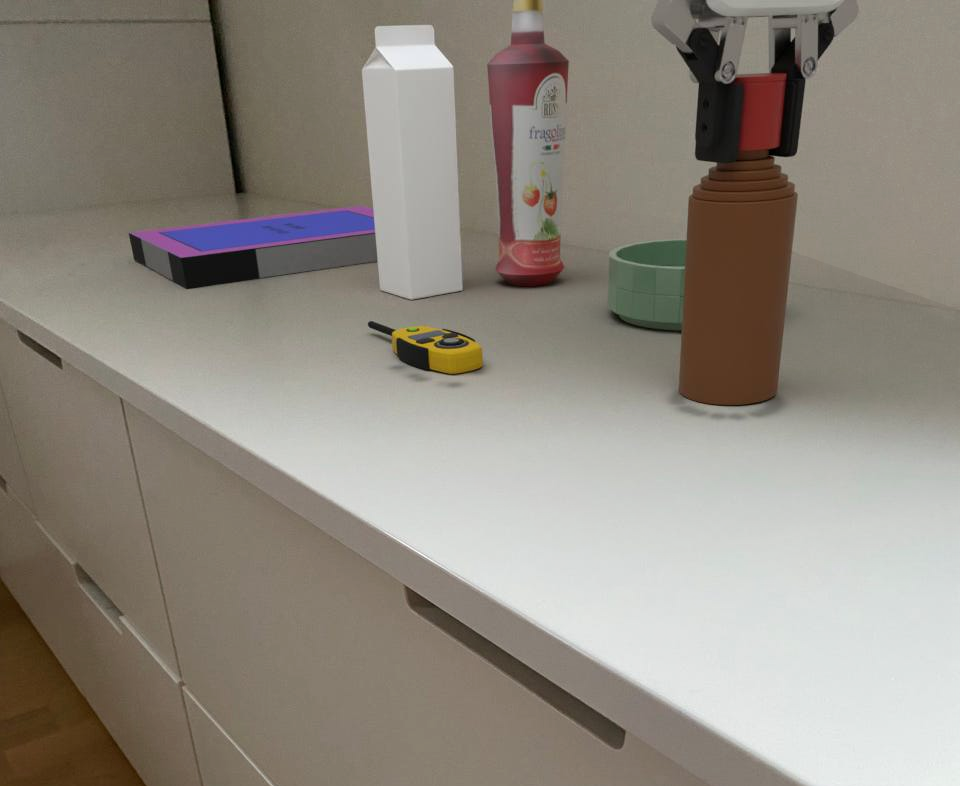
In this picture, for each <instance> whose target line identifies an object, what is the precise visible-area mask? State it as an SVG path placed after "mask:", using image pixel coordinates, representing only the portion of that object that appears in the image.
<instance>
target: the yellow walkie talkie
mask: <svg viewBox="0 0 960 786" xmlns="http://www.w3.org/2000/svg"><path fill="white" fill-rule="evenodd" d="M367 326H368V328H369V329H372V330H374V331H378V332H379V333H382V334H385V335H388V336H390V337H391V344H392V350H393V351H392V352H394V353H395V354H396V355H397V358H398V359H399V360H400V361H402V362H404V363H405V364H408V365H410V366H413V367H416V368H418V369H422V370H426V371H430V370H432V371H435V372H440V373H444V374H449V375H450V374H451V375H456V374H462V373H468V372H472V371H475V370H478V369H480V368H481V367H483V363H484V361H483V360H484V359H483V358H484V357H483V348H482V346H481V345H480V344H478V343H477V342H476V340H475V339H474V338H473V337H471V336H469V335H466V334H463V333H461V332H458V331H455V330H451V329H447V328H441V329H440V328H436V327H431V326H425V325H416V326H415V325H414V326H409V327H404V328H403V327H402V328H400V329H396V328H395V329H394V328H392V327H389V326H387V325H383V324H381V323H378V322H376V321H373V320H369V321H368V322H367Z"/></svg>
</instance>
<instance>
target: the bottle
mask: <svg viewBox="0 0 960 786" xmlns="http://www.w3.org/2000/svg"><path fill="white" fill-rule="evenodd" d="M768 155H769V149H765V150H752V151H739V153H738V158H737V159H736V160H735V162H733V163H715V164H716V165H714V166H712V167H709V168H708V174H707V175H704V176H701V178H700V183H699V184H696V185H694V186H693V187H692V193H691V194H690V195H689V196H688V202H687V203H688V204H687V221H686V223H687V225H686V239H687V240H686V259H685V278H684V297H683V317H682V331H681V336H680V337H681V338H680V357H679V377H678V378H679V379H678V392H679V394H680V395H682V396H683V397H685V398H686V399H688V400H691V401H694V402H698V403H703V404H708V405H719V406H740V405H741V406H742V405H743V406H744V405H750V404H756V403H760V402H761V403H762V402H764V401H767V400H769V399H771V398H773V397H774V396H776V394H777V392H778V388H779V387H778V386H779V377H780V367H781V358H782V351H783V349H782V348H783V338H784V330H785V329H784V328H785V319H786V310H787V301H788V292H789V283H790V274H791V273H790V272H791V262H792V254H793V244H794V235H795V227H796V226H795V225H796V217H797V206H798V198H799V194H798V192H796V191H795V190H796V189H795V188H796V184H795V183H793V182H791V181H789V175H788V174H786V173H785V172H782V165H780V164H776V163H775V159H776V158H775V156H768Z"/></svg>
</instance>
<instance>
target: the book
mask: <svg viewBox="0 0 960 786" xmlns="http://www.w3.org/2000/svg"><path fill="white" fill-rule="evenodd" d="M128 238H129V240H130V241H129V242H130V246H131V251H132V256H133V260H134V261H135V262H137V263H139V264H141V265H143V266H145V267H146V268H148V269H150V270H151V271H153V272H154V273H155V272H156V273H157V274H159V275H161V276H163V278H164V277H165V278H166V279H168V280H170V281H172V282H174V283H175V284H177V285H179V286H181V287H182V288H185V289H186V290H187V289H194V288H201V287H208V286H214V285H215V286H216V285H223V284H228V283H236V282H242V281H249V280H256V279H264V278H269V277H270V278H271V277H277V276H283V275H291V274H298V273H304V272H305V273H306V272H312V271H318V270H319V271H320V270H326V269H332V268H338V267H339V268H340V267H346V266H354V265H360V264H368V263H374V262H375V263H376V262H378V259H377V247H376V235H375V223H374V211H373V207H368V206H364V205H356V206H347V207H338V208H330V209H320V210H313V211H303V212H295V213H287V214H279V215H272V216H271V215H268V216H261V217H260V216H259V217H252V218H244V219H234V220H227V221H218V222H207V223H201V224H192V225H183V226H176V227H167V228H157V229H149V230H141V231H132V232H128Z"/></svg>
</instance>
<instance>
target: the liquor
mask: <svg viewBox="0 0 960 786" xmlns="http://www.w3.org/2000/svg"><path fill="white" fill-rule="evenodd" d="M542 3H543V2H542V0H513V4H512V16H511V17H512V18H511V34H510V45H508V46H506V47H505V48H503V49H502V50H500V51H499V52H497V53H495V55H494V56H493V57H492V58H491V59H490V60H489V62H487V64H486V66H487V67H486V68H487V83H488V96H489V98H488V99H489V114H490V115H489V116H490V131H491V132H490V133H491V142H492V143H491V144H492V153H493V154H492V155H493V166H494V167H493V168H494V181H495V196H496V198H495V199H496V213H497V233H498V256H499V260H498V262H497V264H496V266H495V267H494V270H495V271H496V273H497V274H498V275H499V276H500V277H502V278H503V280H505V281H506V283H507V284H509V285H511V286H514V287H540V286H546V285H549V284H552V283H553V282H554V281H555V280H556V278H558V276H559V275H560V274H562V271H563V270H564V269H565V268H566V267H565V265H564V263H563V261H562V259H561V240H562V239H561V237H562V236H561V235H562V205H563V204H562V203H563V181H564V179H563V178H564V163H565V161H564V160H565V149H566V148H565V147H566V132H567V131H566V130H567V112H568V110H567V109H568V85H569V84H568V83H569V66H570V61H569V60H568V59H567V57H566V56H565V55H564V54H563V53H562V52H561V51H560V50H558V49H556V48H554V47H553V46H551V45H549V44H547V43H546V41H545V29H544V15H543V4H542Z"/></svg>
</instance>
